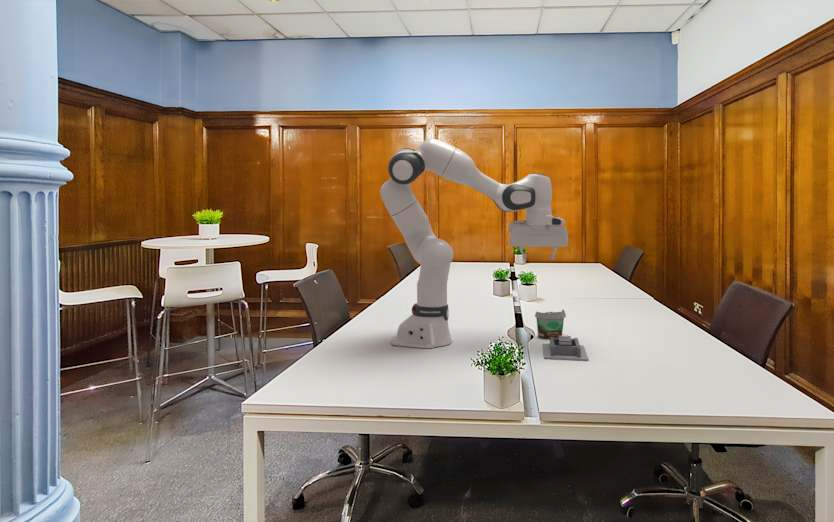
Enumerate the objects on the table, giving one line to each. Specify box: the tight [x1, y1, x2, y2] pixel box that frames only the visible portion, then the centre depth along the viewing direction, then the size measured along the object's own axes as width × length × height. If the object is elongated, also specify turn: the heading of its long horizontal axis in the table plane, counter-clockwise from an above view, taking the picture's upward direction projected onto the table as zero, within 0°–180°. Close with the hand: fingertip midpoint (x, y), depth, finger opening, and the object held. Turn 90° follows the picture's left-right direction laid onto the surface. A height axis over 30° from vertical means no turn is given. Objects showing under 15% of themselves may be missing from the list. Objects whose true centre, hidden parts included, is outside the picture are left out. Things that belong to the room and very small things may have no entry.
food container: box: [534, 309, 567, 340], centre depth 197 cm, size 12×6×10 cm, turn 105°
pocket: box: [542, 337, 589, 362], centre depth 178 cm, size 14×17×4 cm
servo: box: [558, 334, 572, 346], centre depth 177 cm, size 4×9×5 cm, turn 167°
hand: (538, 259), depth 184 cm, fingers open, 8 cm apart
